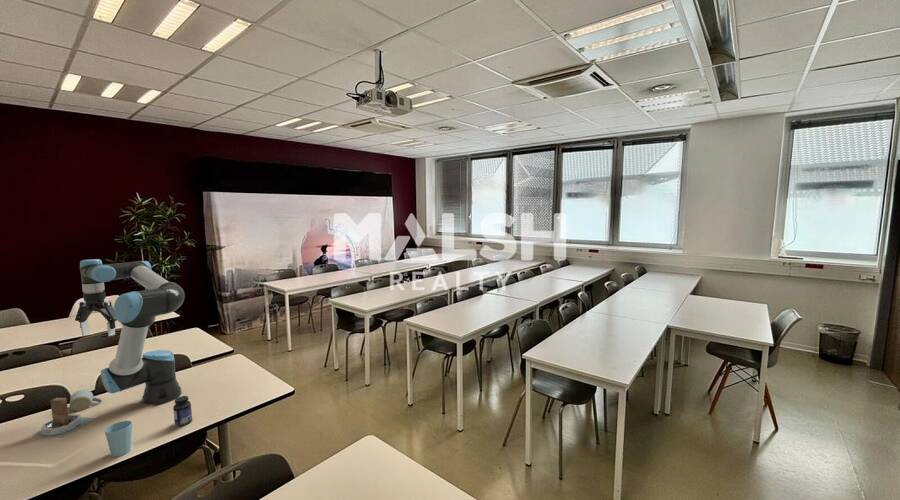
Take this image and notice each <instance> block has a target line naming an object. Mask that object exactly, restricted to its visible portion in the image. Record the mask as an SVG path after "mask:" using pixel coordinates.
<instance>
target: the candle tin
mask: <svg viewBox="0 0 900 500" xmlns="http://www.w3.org/2000/svg"><path fill="white" fill-rule="evenodd" d="M68 416H69V424H67V425H64V426H60V423H53V419H51V420H49V421H47V422H44V423H43V424H42V426H41V427H40V432H41V434H43V435H44V436H53V435H58V434H62V433H65V432H68V431H70V430H72V429H74V428H76V427H78V426H79V425H80V424H81V417H82V414H78V413H77V414H75V413H73V414H71V413H70V414H68Z"/></svg>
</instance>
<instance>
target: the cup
mask: <svg viewBox="0 0 900 500" xmlns="http://www.w3.org/2000/svg"><path fill="white" fill-rule="evenodd" d="M132 431H133V421H132V420H122V421H117V422H115V423H113V424H111V425H108V426H107V427H106V428H104V433H105V436H106V437H105V438H106V441H107V444H108V447H109V451H110V452H109V453H110V456H111V457H113V458H117V457H118V458H119V457H122V456H125V455H126V454H128V453H130V451H131V450H132V436H133V435H132V433H133V432H132Z"/></svg>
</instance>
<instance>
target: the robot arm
mask: <svg viewBox="0 0 900 500" xmlns="http://www.w3.org/2000/svg"><path fill="white" fill-rule="evenodd" d="M79 270H80V276H81V277H80V278H81V287H82V288H81V289H82V293H83V294H82V298H83V301H80V302H79V306H78V310H77V312H76V314H75V318H74V321H76V322H79V328H80V329H81V337H83V336H88V335H90V327H89V321H88V318H89V317H90V316H91V314H92V313H93V312H98V313H99V314H101V316H103V318H104V319H105V320H106V321H107V323H106V325H107V326H106V328H107V336H108V337H111V336H115V335H116V322H118V323H120V324H121V331H120V335H119V340H118V344H117V349H116V353H115V358H113V359H112V360H111V361H110V362H109V365H108V367H105V368H104V369H100V379H101V382H102V385H103V386H104V389H105V390H106V392H107V393H109V394H116V393H120V392H124V391H125V390H129V389H132V388H134V387H138V386H141V385H143V384H145V387H144V391H143V395H142V396H141V400H142V401H141V402H142V404H143V405H154V406H156V405H162V404H165V403H167V402H171V401H174V400H175V399H176V398H178V397H181V396H182V393H183V392H182V387H181V386H180V383H179V382H178V380H177V376H176V364H175V361H176V360H175V356H174V352H173V351H171V350H167V349H159V350H158V349H156V350H151V351H146V352H144V353H143V350H144V347H145V343H146V338H147V335H148V331H149V327H150V326H152V325H153V323H155V320H156V317H158V316H163V315H167V314H171V313H173V312H175V311H177V310H178V309H179V308H180V307H181V306H182V305H183V303H184V301H185V291H184V289H183V288H182V287H181V286H180V285H179V284H178V283H176V282H172V281H168V280H167V279H165V278H163V277H162V276H161V275H159V274H158V273H156V272H155V271H153V270H152V265H151V263H150V262H149V261H147V260H137V261H130V262H129V261H128V262H120V263H119V262H117V263H110V264H109V263H108V264H107V263H106V264H104V263H103V262H102V260H101V259H99V258H95V259H83V260H80V262H79ZM130 278H131V279H133V280H134V281H135V282H136V283H138V284H139V285H141V286H142V287H144V288H145V289H146V290H145V289H144V290H138V291H130V292H126V293H122V294H120V295H118V297H117V298H116V299H115V302H114V305H113V304H112V301H110V300H109V301H105V299H106V298H107V297H106V291H105V290H106V289H105V283H107V282H111V281H117V280H122V279H130Z"/></svg>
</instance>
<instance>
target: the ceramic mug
mask: <svg viewBox="0 0 900 500" xmlns="http://www.w3.org/2000/svg"><path fill="white" fill-rule="evenodd" d="M102 403H103V399H101V398H98V397H94V394H93V392H92V391H91V390H89V389H80V390H78V391H75V392H73V393H72V395H71V396H70V399H69V408H70V410H71V411H73V412H80V411H84V410H86V409H89V407H94V406H95V407H96V406H98V405H101V404H102Z"/></svg>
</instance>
